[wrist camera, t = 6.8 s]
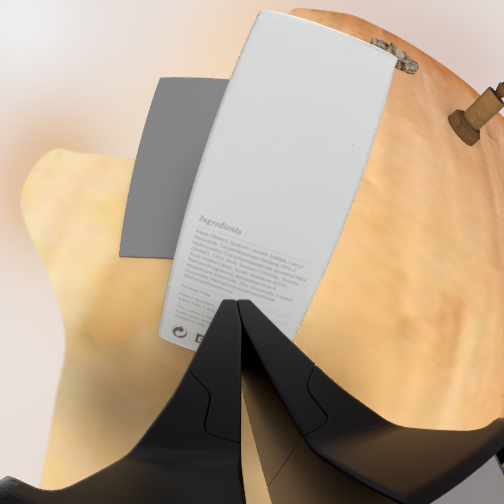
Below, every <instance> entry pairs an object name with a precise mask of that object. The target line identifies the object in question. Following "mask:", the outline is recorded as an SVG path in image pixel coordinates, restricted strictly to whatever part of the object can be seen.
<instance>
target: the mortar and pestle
mask: <svg viewBox="0 0 504 504" xmlns="http://www.w3.org/2000/svg"><path fill="white" fill-rule="evenodd" d="M503 97H504V82H503V83H499V85H498V87H497V89H496V91H494V90H493V88H491V87H489V88H488V89H487V90H486V91H485V92H484V93H483V94H482V95H481V96H480V97H479V98H478V99H477V100H476V101H475V102H474V103H473V104H472V105H471V106H470V107H469V108H468V109H467V110H466V111H462V110H456V111H455V112H454V113H453V114H452V115H450V117H449V121H450V124H451V126H452V128H453V129H454V131H455V132H456V134H457V135H458V136H459V137H460V138H461V139H462V140H463V141H464V142H465V143H466V144H468V145H470V146H472V145H474V144H475V143H476V142H477V141H478V140H479V139H480V130H479V129H480V128H481V127H482V126H483V125H484V124H486V123H487V122H488V121H489V120H490V119H491V118H492V117H493V116H494V115H495V114H496V113H497V112H499V111H500V110H501V109H502V108H503V107H504V102H503V101H502V99H501V98H503Z"/></svg>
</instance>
